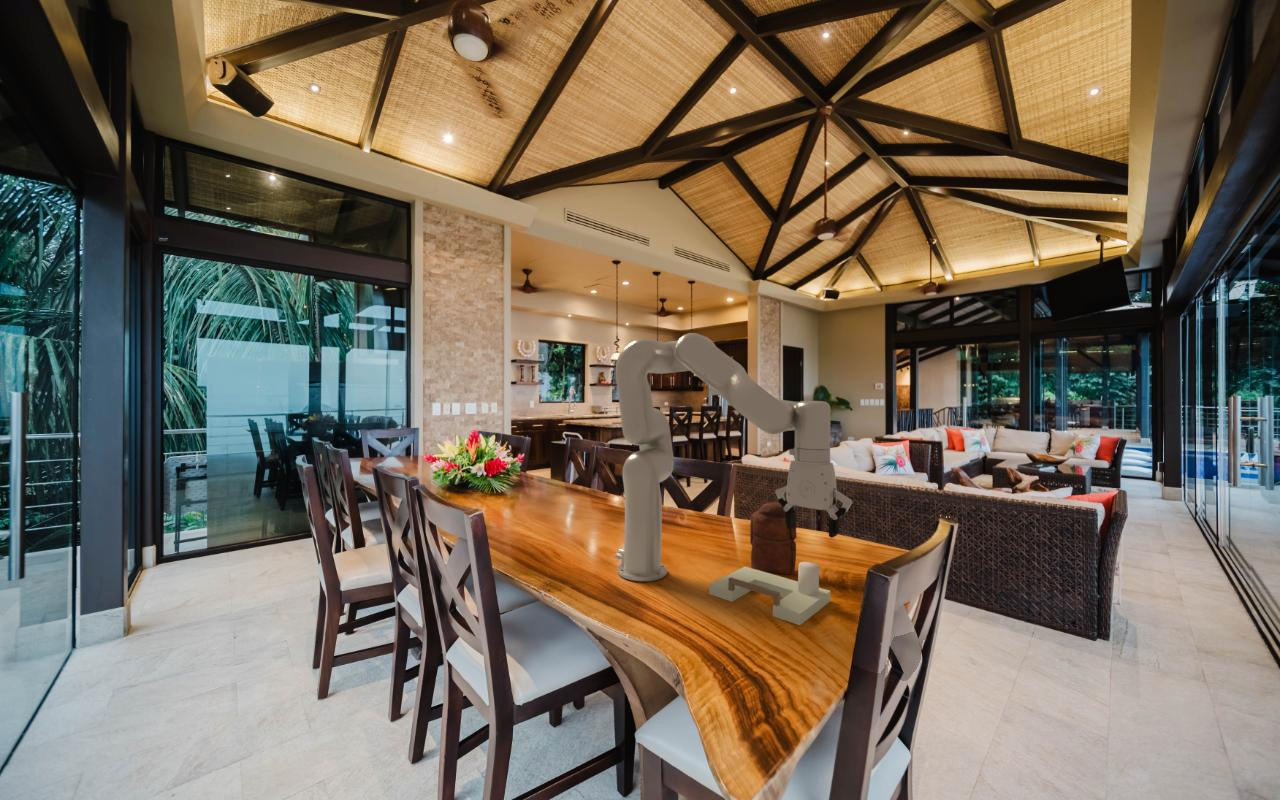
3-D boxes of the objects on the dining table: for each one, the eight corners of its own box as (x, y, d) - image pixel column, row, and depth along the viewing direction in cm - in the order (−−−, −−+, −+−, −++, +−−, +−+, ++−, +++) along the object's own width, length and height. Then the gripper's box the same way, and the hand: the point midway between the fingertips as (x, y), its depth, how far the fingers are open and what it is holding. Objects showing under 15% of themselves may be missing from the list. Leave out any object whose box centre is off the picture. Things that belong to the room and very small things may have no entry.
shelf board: (709, 594, 116) (709, 572, 116) (744, 575, 128) (745, 556, 128) (799, 625, 101) (800, 601, 101) (830, 601, 113) (830, 579, 113)
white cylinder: (794, 591, 112) (795, 565, 112) (803, 586, 116) (803, 560, 115) (813, 597, 109) (814, 570, 109) (821, 591, 113) (822, 565, 112)
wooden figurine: (794, 568, 134) (796, 501, 134) (795, 576, 128) (797, 506, 127) (749, 563, 137) (751, 498, 137) (748, 571, 131) (750, 503, 131)
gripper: (768, 454, 115) (768, 528, 115) (845, 461, 103) (844, 543, 103) (783, 451, 120) (783, 522, 121) (857, 457, 109) (857, 536, 109)
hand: (811, 532), depth 112 cm, fingers open, 9 cm apart
